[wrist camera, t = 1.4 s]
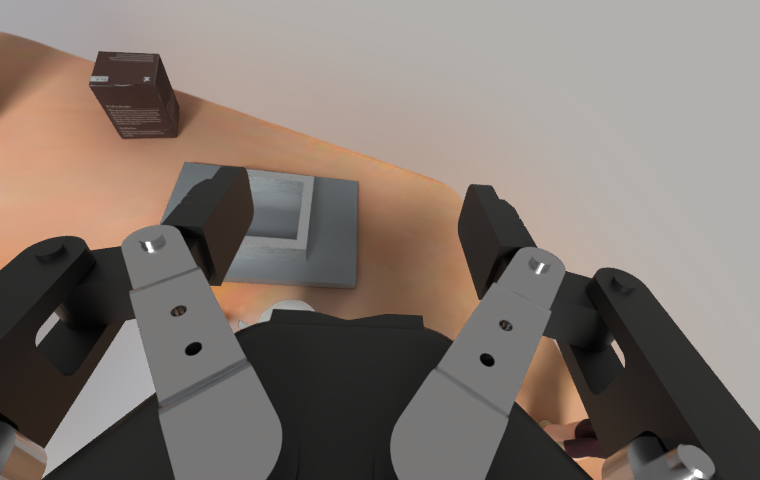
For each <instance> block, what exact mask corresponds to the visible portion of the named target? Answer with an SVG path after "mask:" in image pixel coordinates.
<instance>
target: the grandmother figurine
mask: <svg viewBox="0 0 760 480" xmlns="http://www.w3.org/2000/svg"><path fill="white" fill-rule="evenodd" d="M538 425H539V426H540V427H541V428H542V429H543V430H544V431H545V432H546V433H547V434H548V435H549V436H550V437H551V438H552V439H553V440H554V441H555V442H556V443H557V444H558V445H559V446H560V447H561V448H562V449H563V450H564V451H565V452H566V453H567V454H568V455H569V456H570V457H571V458H572V459H573V460H574V461H575V462H576V461H579V460H583V459H586V458H590V457H598V458H603V459H606V457H605V455H604V452H603V450H602V447H601V445H600V443H599V440H598V438H597V436H596V433H595V431H594V429H593V426H592V424H591V421H590V419H584V420H582V421H579V422H574V423H569V424H567V425H559V424H552V423H551V422H550V421H548V420H542V421H540V422H539V423H538Z"/></svg>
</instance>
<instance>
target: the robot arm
mask: <svg viewBox="0 0 760 480" xmlns="http://www.w3.org/2000/svg"><path fill="white" fill-rule="evenodd" d="M186 195H187V196H185V197H184V198H183V199H182V200H181V201H180V202H181V203H179V204H178V205H177V206H176V207H175V209H174V210H173V211H172V212H171V213H170V214H169V216H168V217H167V218H166V219H165V220H164V222H163V223H162V224H161V225H154V226H149V227H145V228H142V229H140V230H137V231H135V232H133V233H132V234H130V235H129V236H128V237H126V239H125V240H124V241H123V243H122V246H119V247H112V248H105V249H97V250H90V249H89V247H88V246H87V244H86V243H85V241H84V240H83V239H81V238H79V237H75V236H61V237H55V238H50V239H47V240H44V241H41V242H38V243H36V244H34V245H32V246H30V247H28V248H27V249H25V250H24V251H22V252H21V253H20V254H19V255H17V256H16V257H15V258H14V259H13V260H12V261H11V262H9V263H8V264H7V265H6V266H5V267H4V268H2V269H1V270H0V480H593V479H592V478H591V477H590V476H589V475H588V474H587V473H586V472H585V471H584V470H583V469H582V468H581V467H580V466H579V465H578V464H577V463H576V462H575V461H574V460H573V459H572V458H571V457H570V456H569V455H568V454H567V453H566V452H565V451H564V450H563V449H562V448H561V447H560V446H559V445H558V444H557V443H556V442H555V441H554V440H553V439H552V438H551V437H550V436H549V435H548V434H547V433H546V432H545V431H544V430H543V429H542V428H541V427H540V426H539V425H538V424H537V423H536V422H535V421H534V420H533V419H532V418H531V417H530V416H529V415H528V414H527V413H526V412H525V411H524V410H523V409H522V408H521V407H520V406H519V405H518V404H517V403H516V402H515V399H516V396H517V394H518V392H519V389H520V387H521V384H522V382H523V380H524V377H525V375H526V372H527V370H528V368H529V365H530V363H531V360H532V358H533V356H534V353H535V351H536V349H537V346H538V344H539V341H540V339H541V337H542V335H543V336H546V337H549V338H552V339H555V340H556V341H557V343H558V346H559V348H560V351H561V353H562V355H563V358H564V360H565V362H566V365H567V367H568V369H569V372H570V374H571V377H572V379H573V381H574V384H575V386H576V388H577V391H578V393H579V395H580V398H581V400H582V403H583V405H584V407H585V410H586V412H587V414H588V417H589V419H590V421H591V424H592V426H593V429H594V431H595V433H596V436H597V438H598V440H599V443H600V445H601V447H602V450H603V452H604V455H605V457H606V460H605V462H604V463H603V466H602V480H760V431H759V429H758V428H757V427H756V425H755V424H754V423H753V422H752V420H751V419H750V418H749V417H748V415H747V414H746V413H745V411H744V410H743V409H742V408H741V407H740V405H739V404H738V403H737V401H736V400H735V399H734V397H733V396H732V395H731V394H730V392H729V391H728V390H727V389H726V387H725V386H724V385H723V383H722V382H721V381H720V380H719V379H718V377H717V376H716V375H715V374H714V372H713V371H712V369H711V368H710V367H709V366H708V364H707V363H706V362H705V360H704V359H703V358H702V357H701V355H700V354H699V353H698V352H697V350H696V349H695V348H694V347H693V345H692V344H691V343H690V341H689V340H688V339H687V338H686V336H685V335H684V334H683V332H682V331H681V330H680V329H679V327H678V326H677V325H676V324H675V323H674V321H673V320H672V318H671V317H670V316H669V315H668V313H667V312H666V311H665V309H664V308H663V307H662V306H661V304H660V303H659V302H658V301H657V299H656V298H655V297H654V296H653V294H652V293H651V292H650V290H649V289H648V288H647V287H646V285H644V283H642V282H641V281H640V280H639V279H637V278H636V277H634V276H633V275H631V274H629V273H627V272H624V271H622V270H619V269H615V268H601V269H599V270H598V271H597V272H596V273H595V275H594V276H593V278H588V277H585V276H581V275H577V274H574V273H570V272H567V271H565V266H564V264H563V263H562V261H561V260H560V259H559V258H558V257H556V256H555V255H554V254H552V253H550V252H548V251H545V250H543V249H540V248H537V246H536V244H535V242H534V241H533V239H532V238H531V236H530V234H529V232H528V231H527V229H526V227H525V226H524V224H523V222H522V220H521V219H519V215H518V214H517V212H516V210H515V208H514V207H512V206H511V205H510V204H508V202H506V201H505V200H501V199H499V198H498V196H497V194H496V192H495V190H494V188H493V187H492V186H490V185H477V184H471V185H470V186H469V187H468V190H467V193H466V196H465V200H464V203H463V207H462V210H461V213H460V217H459V221H458V235H459V238H460V242H461V245H462V248H463V251H464V254H465V257H466V261H467V264H468V267H469V270H470V273H471V276H472V280H473V283H474V286H475V289H476V292H477V296H478V299H479V300H481V302H480V303H479V305H478V306H477V308H476V309H475V311H474V312H473V314H472V315H471V317H470V318H469V320H468V321H467V323H466V324H465V326H464V327H463V329H462V330H461V332H460V333H459V335H458V336H457V338H456V339H455V340H454V341H452V340H451V339H449V338H448V337H446V336H445V335H443V334H441V333H439V332H436V331H434V330H431V329H429V328H425V327H424V325H423V317H422V316H419V315H397V314H384V315H378V316H372V317H366V318H360V319H354V320H344V319H340V318H337V317H333V316H329V315H325V314H322V313H318V312H314V311H310V310H288V309H273V311H272V314H271V317H270V320H269V321H264V322H261V323H257V324H254V325H251V326H248V327H246V328H244V329H242V330H240V331H238V332H236V333H233V331H232V329H231V327H230V325H229V323H228V321H227V319H226V317H225V315H224V313H223V311H222V309H221V307H220V305H219V303H218V301H217V299H216V297H215V295H214V293H213V292H212V290H211V288H210V286H221V284H222V282H223V280H224V278H225V276H226V274H227V272H228V270H229V268H230V266H231V264H232V262H233V260H234V258H235V256H236V254H237V252H238V250H239V248H240V245H241V243H242V241H243V239H244V237H245V235H246V233H247V231H248V229H249V227H250V225H251V223H252V221H253V216H254V204H253V199H252V193H251V188H250V182H249V177H248V172H247V170H246V168H244V167H232V166H221V167H220V168H219V170H218V171H217V172H216V173H215V175H214V176H213V177H212V178H211V179H205V180H203V181H201V182H200V183H198V184H196V185H194V186H193V187H192V188H191V190H190V191H189V192H188V193H187V194H186ZM209 285H210V286H209ZM53 312H55V313H56V314H57V315H58V316H59V318H60V319H59V321H58V322H57V323H56V324H55V325H54V327H53V328H52V329H51V330H50V331H49V333H48V334H47V335H46V336H45V338H44V339H43V340H42V341H41V342H40V344H39V345H38V346H37V347H36V344H35V339H36V335H37V332H38V330H39V329H40V327H41V326H42V325H43V324H44V323H45V321H46V320H47V319H48V318H49V317H50V316H51V314H52V313H53ZM131 319H136V320H137V324H138V328H139V331H140V335H141V339H142V342H143V346H144V349H145V353H146V357H147V361H148V364H149V368H150V372H151V375H152V379H153V383H154V386H155V390H156V392H155V393H154V394H153V395H151V396H150V397H149V398H147V399H146V400H145V401H143V402H142V403H141V404H139V405H138V406H137V407H136V408H134V409H133V410H132V411H130V412H129V413H128V414H126V415H125V416H124V417H123V418H121V419H120V420H118V421H117V422H116V423H115V424H113V425H112V426H111V427H109V428H108V429H107V430H105V431H104V432H103V433H101V434H100V435H99V436H98V437H96V438H95V439H93V440H92V441H91V442H90V443H88V444H87V445H86V446H84V447H83V448H82V449H80V450H79V451H78V452H76V453H75V454H74V455H72V456H71V457H70V458H68V459H67V460H66V461H65V462H63V463H62V464H61V465H59V466H58V467H57V468H55V469H54V470H53V471H52V472H50V473H49V474H48V475H46V476H45V477H44V478H43V479H41V478H42V476H43V474H44V472H45V468H46V464H47V455H46V453H45V450H44V448H45V447H46V445H47V444H48V442H49V440H50V439H51V437H52V436H53V434H54V433H55V431H56V429H57V428H58V426H59V425H60V423H61V421H62V420H63V418H64V417H65V415H66V414H67V412H68V411H69V409H70V407H71V406H72V404H73V403H74V401H75V399H76V398H77V396H78V395H79V393H80V392H81V390H82V388H83V387H84V385H85V384H86V382H87V381H88V379H89V377H90V376H91V374H92V373H93V371H94V369H95V368H96V366H97V365H98V363H99V362H100V360H101V359H102V357H103V355H104V354H105V352H106V351H107V349H108V347H109V346H110V344H111V343H112V341H113V340H114V338H115V336H116V335H117V333H118V332H119V330H120V329H121V327H122V325H123V324H124V322H125V321H126V320H131ZM614 340H616V342H617V344H618V345H619V347H620V349H621V350H622V352H623V354H624V358H625V368H624V367H623V365H622V363H621V361H620V360H619V358H618V356H617V354H616V353H615V351H614V349H613V347H612V346H611V343H612V342H613V341H614Z"/></svg>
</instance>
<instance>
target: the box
mask: <svg viewBox="0 0 760 480" xmlns="http://www.w3.org/2000/svg"><path fill="white" fill-rule="evenodd" d="M89 87H90V88H91V90H92V91H93V93H94V94H95V96H96V98H97V99H98V101H99V102H100V104H101V106H102V107H103V109H104V111H105V112H106V114H107V115H108V117H109V119H110V120H111V122H112V124H113V125H114V127H115V128H116V130H117V132H118V133H119V135H120V136H121V138H122V139H128V138H172V137H174V138H176V137H177V127H178V114H179V105H178V102H177V100H176V98H175V95H174V92H173V89H172V87H171V84H170V82H169V79H168V76H167V74H166V71H165V68H164V65H163V63H162V60H161V58H160V55H159V54H145V53H123V52H102V51H99V52H98V56H97V59H96V63H95V66H94V69H93V72H92V76H91V79H90V83H89Z"/></svg>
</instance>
